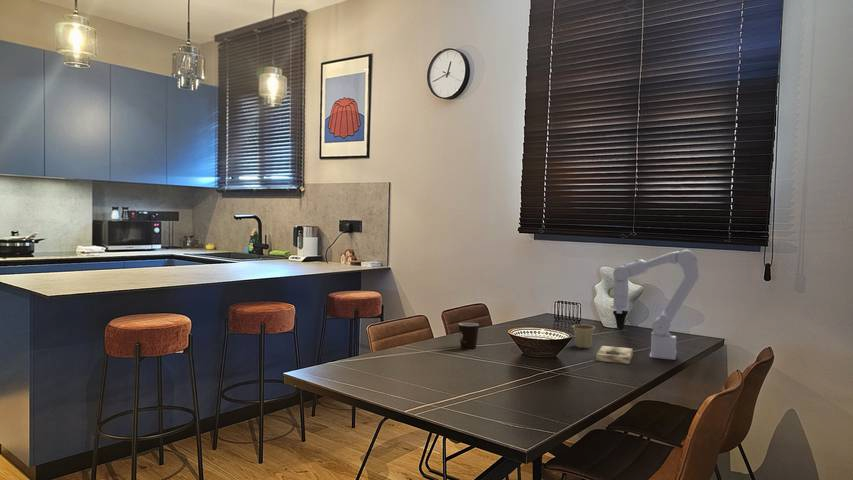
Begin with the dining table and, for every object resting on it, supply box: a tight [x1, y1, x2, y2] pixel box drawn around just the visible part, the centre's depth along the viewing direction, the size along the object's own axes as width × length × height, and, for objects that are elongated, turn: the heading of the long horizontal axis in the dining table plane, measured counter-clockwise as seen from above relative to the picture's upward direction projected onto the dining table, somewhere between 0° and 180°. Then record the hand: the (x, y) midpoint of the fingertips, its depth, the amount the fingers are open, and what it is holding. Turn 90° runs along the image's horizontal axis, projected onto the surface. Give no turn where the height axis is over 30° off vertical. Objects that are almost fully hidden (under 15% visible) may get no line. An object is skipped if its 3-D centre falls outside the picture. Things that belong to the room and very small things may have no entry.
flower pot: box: [571, 324, 596, 349], centre depth 251 cm, size 9×9×9 cm
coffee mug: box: [458, 322, 480, 350], centre depth 248 cm, size 12×9×10 cm
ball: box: [609, 350, 618, 355], centre depth 229 cm, size 4×4×4 cm
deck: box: [595, 345, 634, 364], centre depth 232 cm, size 12×17×2 cm
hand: (620, 328), depth 241 cm, fingers closed
